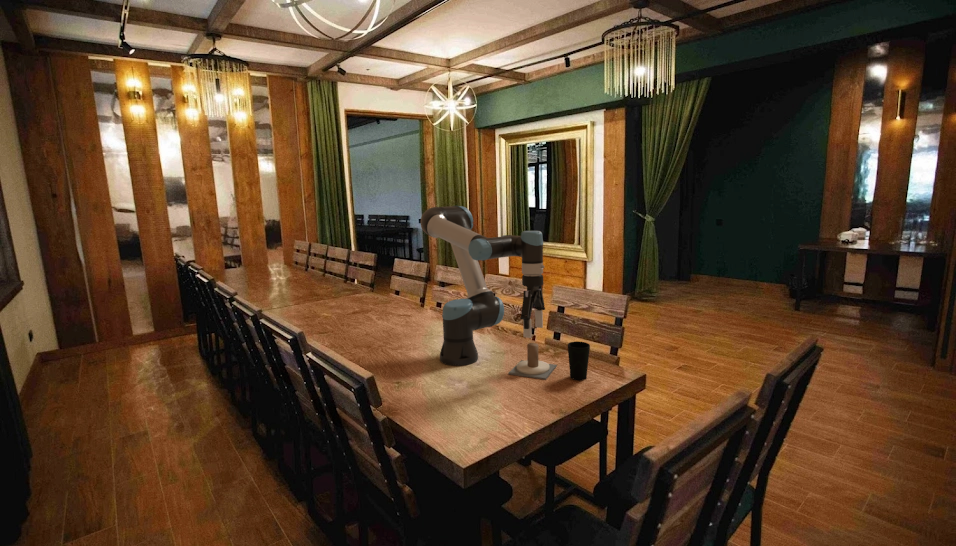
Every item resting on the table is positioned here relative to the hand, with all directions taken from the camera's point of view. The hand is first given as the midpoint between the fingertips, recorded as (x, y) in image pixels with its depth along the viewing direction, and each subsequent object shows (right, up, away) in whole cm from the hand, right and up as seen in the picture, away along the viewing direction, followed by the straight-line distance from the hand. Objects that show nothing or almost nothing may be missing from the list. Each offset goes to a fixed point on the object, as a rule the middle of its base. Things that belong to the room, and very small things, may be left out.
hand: (533, 332), depth 174 cm
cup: (+15, -15, -5) cm, 22 cm away
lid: (0, -14, +3) cm, 14 cm away
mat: (0, -14, +3) cm, 15 cm away
